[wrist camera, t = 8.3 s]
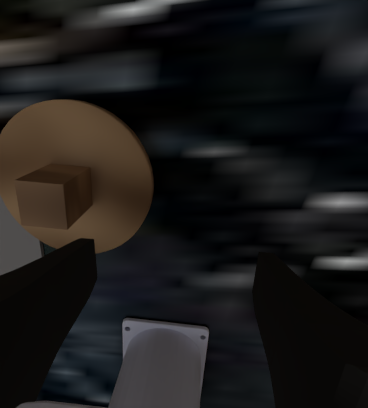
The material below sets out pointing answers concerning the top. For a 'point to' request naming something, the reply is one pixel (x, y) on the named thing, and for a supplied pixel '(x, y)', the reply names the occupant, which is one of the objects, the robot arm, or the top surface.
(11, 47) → the top surface
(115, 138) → the lid
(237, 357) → the top surface
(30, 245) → the mat
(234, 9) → the top surface
